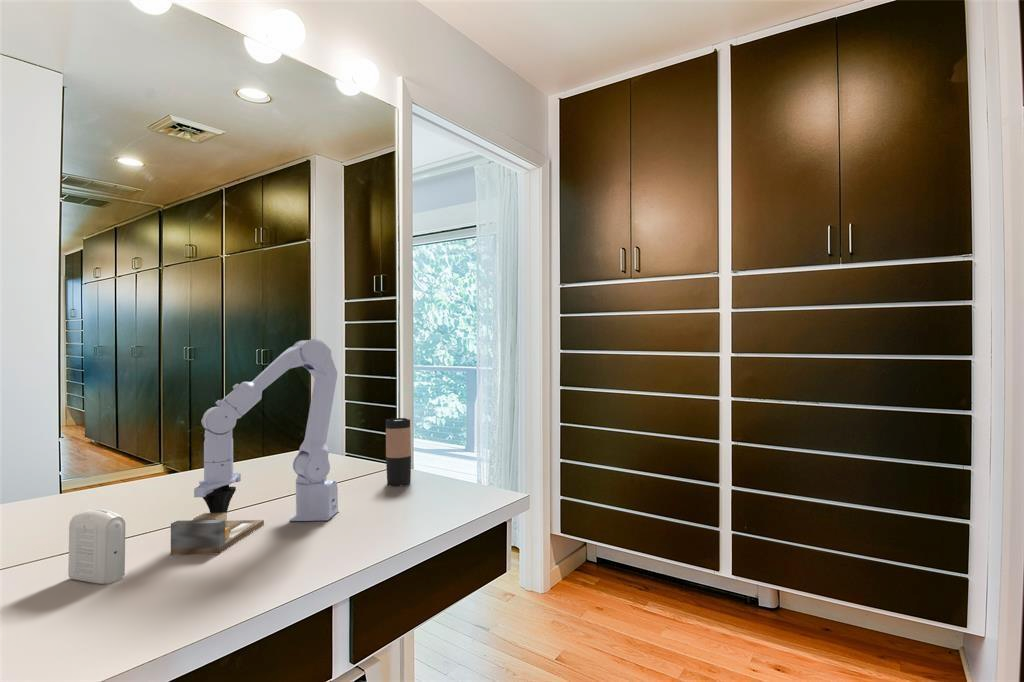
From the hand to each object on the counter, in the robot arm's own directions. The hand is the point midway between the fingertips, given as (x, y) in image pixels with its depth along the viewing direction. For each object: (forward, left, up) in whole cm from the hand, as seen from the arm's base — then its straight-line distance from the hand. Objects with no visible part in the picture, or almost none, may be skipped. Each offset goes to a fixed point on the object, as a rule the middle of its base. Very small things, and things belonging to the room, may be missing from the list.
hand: (218, 521), depth 115 cm
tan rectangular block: (-1, +3, -2) cm, 4 cm away
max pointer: (-5, +7, -2) cm, 8 cm away
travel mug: (-30, -46, -3) cm, 55 cm away
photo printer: (+9, +22, -3) cm, 24 cm away
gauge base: (-2, +2, -3) cm, 4 cm away
